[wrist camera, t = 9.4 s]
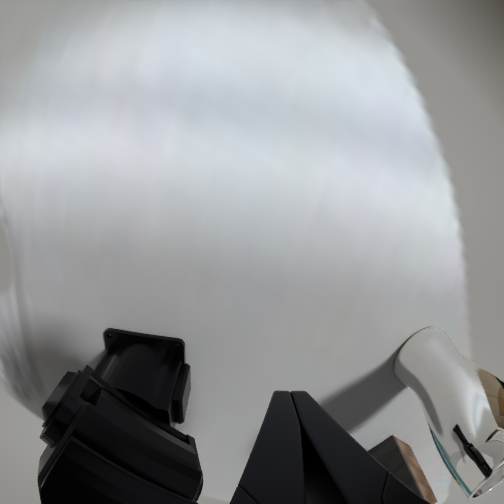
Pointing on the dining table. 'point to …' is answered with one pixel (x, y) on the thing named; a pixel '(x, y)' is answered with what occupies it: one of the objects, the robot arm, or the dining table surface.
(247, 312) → the dining table surface
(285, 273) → the dining table surface
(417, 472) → the block
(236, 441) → the dining table surface
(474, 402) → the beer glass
